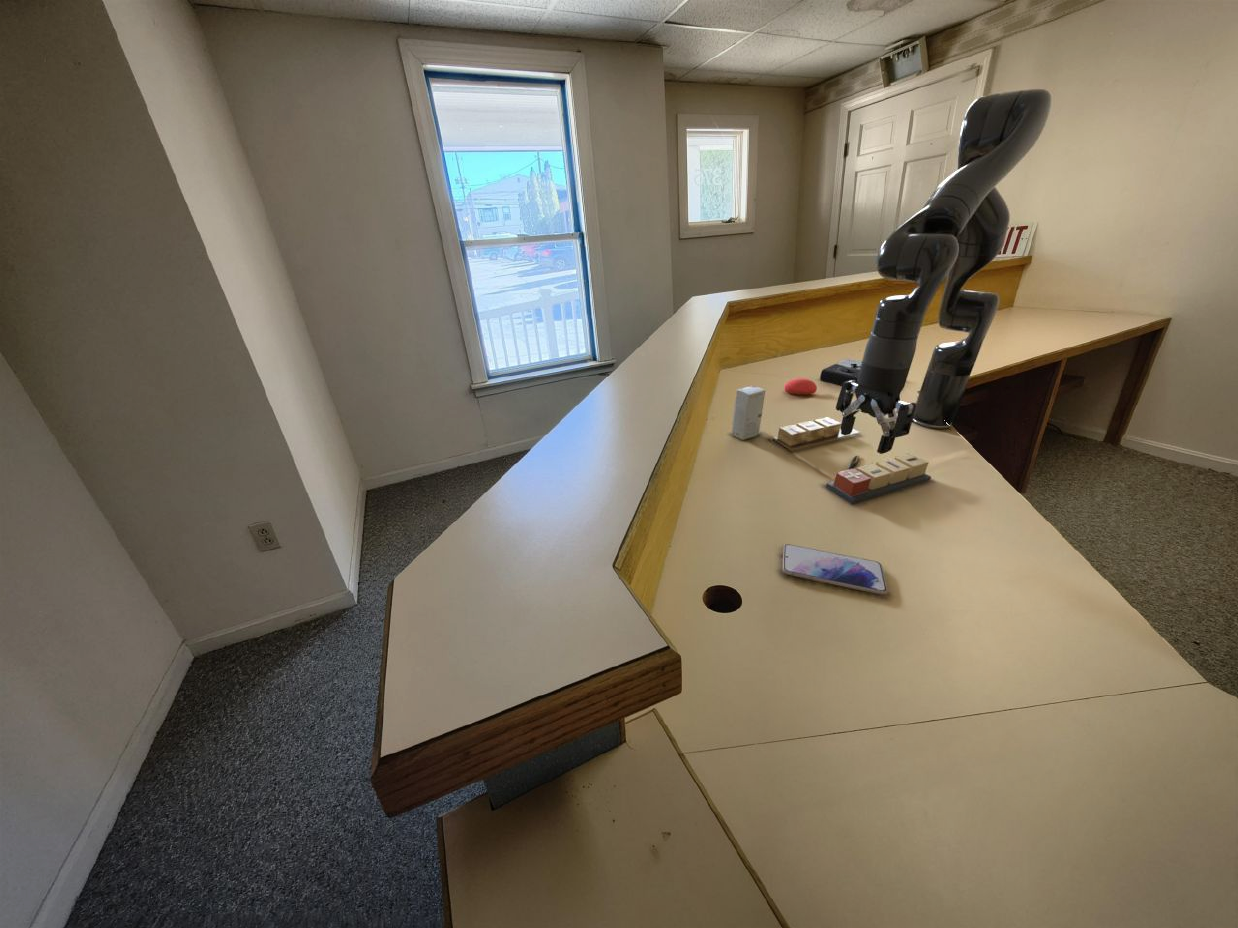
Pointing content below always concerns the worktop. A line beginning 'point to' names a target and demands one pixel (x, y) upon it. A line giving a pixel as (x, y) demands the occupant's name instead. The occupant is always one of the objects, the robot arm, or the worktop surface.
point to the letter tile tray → (809, 433)
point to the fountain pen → (854, 462)
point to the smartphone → (834, 569)
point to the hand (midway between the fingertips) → (863, 442)
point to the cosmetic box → (748, 412)
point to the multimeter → (842, 372)
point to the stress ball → (800, 386)
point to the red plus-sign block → (852, 482)
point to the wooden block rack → (888, 477)
